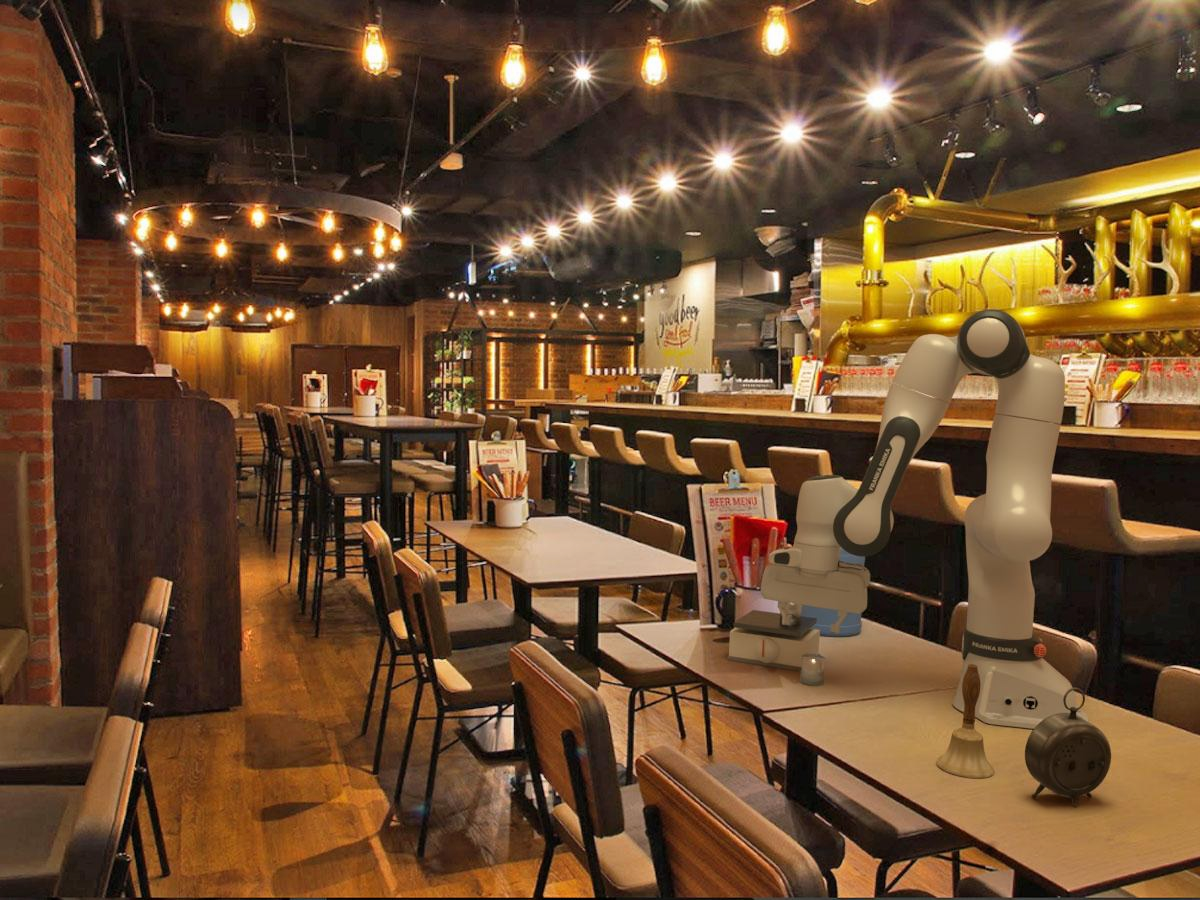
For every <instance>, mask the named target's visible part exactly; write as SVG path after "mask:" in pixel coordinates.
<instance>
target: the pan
mask: <svg viewBox="0 0 1200 900" xmlns="http://www.w3.org/2000/svg"><path fill="white" fill-rule="evenodd" d="M816 623H817V618H811V617H803V616H801V624H798V625H790V626H788V625H782V623H780V612H779V613H778V612H771V611H764V610H757V609H752V610H751V611H749V612H748V613H746V614H744V615H743V616H741V617H740V618H739V619H737V620H735V621H734V622H733V628H742V629H749V630H756V631H763V632H771V633H778V634H785V635H792V636H799V637H801V636H802V635H803V634H804V633H805V632H807V631H808V630H809V629H810V628H811V627H812V626H813V625H815V624H816Z"/></svg>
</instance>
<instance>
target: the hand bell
mask: <svg viewBox="0 0 1200 900" xmlns="http://www.w3.org/2000/svg"><path fill="white" fill-rule="evenodd" d="M980 687H981V682H980V676H979V673H978V668H977V665H974V664H969V665H968V668H967V671H966V673H965V675H964V678H963V682H962V694H963V699H964V712H963V714H962V715H963V718H962V726H961V727H959V728H955V729H954V730H953V731H952V732H951V737H950V741H949V745H948V747H947V749H946V751H945V752H944V753H943V754H942V755H940V756H939V757H938V758H937V760H936V765H937V767H938V768H939V769H941V770H942V771H943V772H946V773H948V774H951V775H954V776H958V777H962V778H969V779H987V777H988V778H990V776H991V777H993V776H994V775H995V769H994V767H993V765H992V764H991V763H990V761H989V760H988V759H987V755H986V752H985V748H984V747H985V745H984V736H983V734H982V733H981V732H979V731H977V730H976V729H975V722H976V720H975V719H976V717H975V706H976V703H977V700H978V698H979V694H980ZM992 775H993V776H992Z"/></svg>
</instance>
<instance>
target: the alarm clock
mask: <svg viewBox="0 0 1200 900" xmlns="http://www.w3.org/2000/svg"><path fill="white" fill-rule="evenodd" d="M1073 690H1074V691H1078V692H1079V693H1080V694H1081V696H1082V701H1081V704H1080V706H1076V707H1078V708H1076V707H1071V708H1068V707H1067V705H1066V697H1067V695H1068V693H1069V692H1071V691H1073ZM1063 701H1064V706H1065V707H1066V708H1067V709H1068V710H1070V711H1071V712H1070V713H1058V714H1054V715H1051V716H1049V717H1047V718H1045V719H1044V720H1042V721H1041V722H1040V723H1039V724H1038V725H1037V726H1036V727H1035V728H1034V729H1032V731H1031V733H1030V734H1029V736H1028V738H1027V740H1026V742H1025V743H1026V744H1025V746H1024V747H1025V749H1024V761H1025V762H1024V763H1025V766H1026V768H1027V771H1028V772H1029V774H1030V775H1031V777H1032V778H1033V779H1034V780H1035V781H1037V782H1038V783H1039V785H1038V786H1037V787H1036V790H1035V792H1034V793H1033V794H1031V798H1032V799H1034V800H1035V799H1036V798H1037V797H1038V795H1039V794H1041V793H1042V791H1044V789H1045V788H1046V789H1048V790H1049V791H1050V792H1052V793H1053V794H1055V795H1058V796H1060V797H1063V798H1064V797H1065V798H1071V803H1072V806H1073V807H1074V808H1078V800H1077V798H1078V797H1082V796H1086V797H1087V798H1089V799H1090V798H1091V797H1092V794H1091V792H1093V791H1095V789H1097V788H1098V787H1099V786H1100V785H1101V784H1102V782H1104V780H1105V778H1106V776H1107V775H1108V773H1109V770H1110V767H1111V763H1112V750H1111V746H1110V745H1111V744H1110V743H1109V740H1108V738H1107V736H1106V735H1105V733H1104V732H1103V731H1102V730H1100V729H1099V728H1098V727H1097V726H1096V725H1094V724H1092V723H1090V721H1089V722H1087V721H1086V720H1084V719H1083V718H1081V717H1079V716H1077V715H1076V712H1077V711H1078V710H1079V709H1082V707H1084V705H1085V703H1086V702H1085V701H1086V696H1085V693H1084V692H1083V690H1082V689H1080V688H1079V687H1072V688H1071V689H1069V690H1068V691H1067V692H1066V693H1065V695H1064V699H1063Z"/></svg>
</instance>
